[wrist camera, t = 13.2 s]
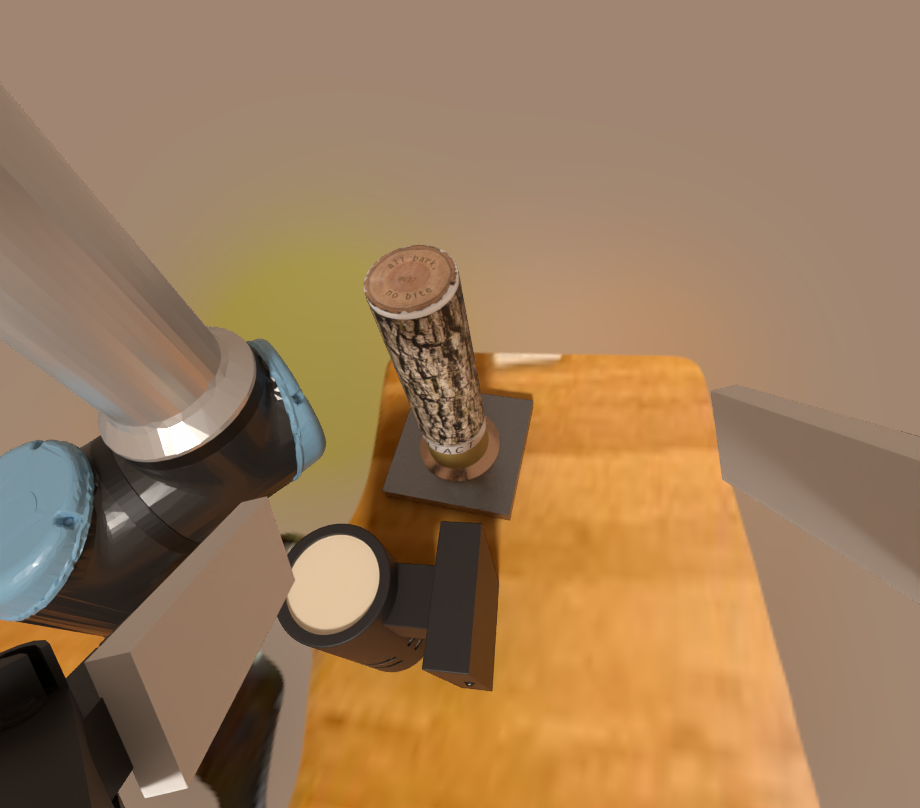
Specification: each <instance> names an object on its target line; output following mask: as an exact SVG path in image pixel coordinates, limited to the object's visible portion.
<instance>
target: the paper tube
mask: <svg viewBox="0 0 920 808" xmlns="http://www.w3.org/2000/svg"><path fill="white" fill-rule="evenodd" d="M364 292H365V295H366V299H367V302H368V304H369V306H370V309H371V311H372V314H373V316H374V319H375V321H376V323H377V326H378V328H379V330H380V333H381V335H382V338H383V340H384V343H385V345H386V348H387V350H388V353H389V355H390V357H391V360H392V362H393V365H394V367H395V370H396V372H397V374H398V377H399V379H400V382H401V384H402V387H403V389H404V391H405V394H406V396H407V399H408V401H409V404H410V406H411V409H412V411H413V413H414V416H415V418H416V421H417V423H418V426H419V428H420V430H421V433H422V435H423V438H424V440H425V442H426V444H427V447H428V449H429V452H430V454H431V456H432V457H433V458H434V460H435V461H436V462H438V463H439V464H440V465H442V466H444V467H447V468H451V469H462V468H466V467H469V466H471V465H473V464H475V463H476V462H478V461H479V460H480V459H481V458H482V457H483V455H484V454H485V452H486V450H487V447H488V442H489V436H488V430H487V425H486V418H485V413H484V407H483V402H482V396H481V391H480V385H479V380H478V375H477V369H476V364H475V358H474V353H473V347H472V342H471V336H470V331H469V326H468V320H467V315H466V309H465V304H464V298H463V294H462V287H461V282H460V277H459V272H458V268H457V265H456V263H455V261H454V259H453V258H452V257H451V256H450V255H449V254H448V253H446V252H445V251H443V250H441V249H439V248H436V247H431V246H426V245H414V246H407V247H403V248H399V249H396V250H394V251H392V252H390V253H388V254H386V255H384V256H383V257H381V258H380V259H379V260H378V261H376V262H375V263H374V264H373V266H372V267H371V268H370V269H369V271H368V273H367V275H366V277H365V280H364Z"/></svg>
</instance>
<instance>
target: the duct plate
mask: <svg viewBox="0 0 920 808" xmlns="http://www.w3.org/2000/svg"><path fill="white" fill-rule="evenodd" d="M481 396H482V402H483V407H484V413H485V418H486V425H487V430H488V436H489V442H488V447H487V450H486V452H485V454H484V455H483V457H482V458H481V459H480V460H479V461H478V462H476V463H475V464H473V465H471V466H469V467H466V468H462V469H451V468H447V467H444V466H442V465H440V464H439V463H438V462H436V461H435V460H434V458H433V457H432V456H431V454H430V452H429V449H428V447H427V444H426V442H425V440H424V438H423V435H422V433H421V430H420V428H419V426H418V423H417V421H416V418H415V416H414V413H413V411H412V409H411V408H410V411H409V414H408V417H407V420H406V423H405V426H404V429H403V432H402V434H401V437H400V440H399V443H398V446H397V449H396V452H395V455H394V458H393V461H392V463H391V466H390V469H389V472H388V475H387V478H386V481H385V484H384V487H383V490H382V491H383V493H384V494H385V496H388V497H394V498H399V499H404V500H409V501H414V502H419V503H424V504H429V505H434V506H439V507H444V508H449V509H455V510H460V511H465V512H470V513H475V514H480V515H485V516H490V517H495V518H500V519H505V520H510V518H511V513H512V509H513V504H514V499H515V494H516V489H517V484H518V479H519V474H520V469H521V465H522V460H523V455H524V450H525V445H526V440H527V435H528V430H529V425H530V420H531V416H532V411H533V401H532V400H525V399H517V398H510V397H503V396H496V395H488V394H481Z"/></svg>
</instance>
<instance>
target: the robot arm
mask: <svg viewBox="0 0 920 808" xmlns="http://www.w3.org/2000/svg"><path fill="white" fill-rule="evenodd" d="M0 340H1V341H2V342H4V343H5V344H6V345H8V346H9V347H10V348H12V349H13V350H15V351H16V352H17V353H19V354H20V355H22V356H23V357H24V358H26V359H27V360H29V361H30V362H31V363H33V364H34V365H36V366H37V367H39V368H40V369H41V370H42V371H44V372H45V373H47V374H48V375H50V376H51V377H52V378H54V379H55V380H56V381H58V382H59V383H61V384H62V385H63V386H65V387H66V388H68V389H69V390H70V391H72V392H73V393H75V394H76V395H77V396H79V397H80V398H82V399H83V400H84V401H86V402H87V403H88V404H90V405H91V406H93V407H94V408H96V409H97V410H98V411H99V412H98V427H99V431H100V436H99V437H97V438H96V439H94V440H93V441H91V442H89V443H88V444H86V445H84V446H83V447H81V448H79V447H77V446H76V445H74V444H72V443H68V442H66V441H57V440H46V441H41V440H36V441H32V442H28V443H25V444H22V445H21V446H18V447H16V448H14V449H11V450H10V451H8V452H6V453H5V454H3V455H2V456H0V619H1V620H8V621H16V622H22V623H28V624H34V625H40V626H45V627H51V628H57V629H63V630H68V631H74V632H80V633H86V634H91V635H98V636H103V637H104V638H105V639H104V640H103V641H102V642H101V643H100V644H99V645H100V646H99V647H98V648H95V649H94V651H93V652H92V653H91V654H90V655H89V656H88V657H87V658H86V659H85V660H84V661H83V662H82V663H81V664H80V665H79V666H78V667H77V668H76V669H75V670H74V671H73V672H72V673H71V674H70V675H69V676H68V677H67V678H65V676H64V674H63V672H62V670H61V667H60V665H59V663H58V661H57V659H56V657H55V654H54V652H53V650H52V648H51V646H50V644H49V643H48V642H47V641H46V640H39V641H32V642H28V643H25V644H21V645H18V646H16V647H13V648H11V649H8V650H6V651H4V652H1V653H0V808H125V807H124V805H123V802H122V800H121V798H120V796H119V794H118V791H119V789H120V788H121V786H122V785H123V783H124V782H125V780H126V779H127V777H128V776H129V774H130V773H131V771H133V773H134V775H135V777H136V780H137V782H138V784H139V786H140V789H141V791H142V793H143V795H144V797H145V798H148V797H152V796H156V795H161V794H165V793H169V792H173V791H178V790H182V789H186V788H188V787H189V785H190V783H191V781H192V779H193V777H194V775H195V773H196V771H197V769H198V767H199V766H200V764H201V762H202V760H203V758H204V756H205V754H206V752H207V750H208V748H209V746H210V744H211V742H212V740H213V738H214V737H215V735H216V733H217V731H218V729H219V727H220V725H221V723H222V721H223V719H224V717H225V715H226V713H227V711H228V709H229V707H230V706H231V704H232V702H233V700H234V698H235V696H236V694H237V692H238V690H239V688H240V686H241V684H242V682H243V680H244V678H245V677H246V675H247V673H248V671H249V669H250V667H251V665H252V663H253V661H254V659H255V657H256V655H257V653H258V651H259V649H260V647H261V645H262V644H263V642H264V640H265V638H266V636H267V634H268V632H269V630H270V628H271V626H272V624H273V622H274V620H275V619H276V617H277V615H278V613H279V611H280V609H281V607H282V605H283V603H284V601H285V599H286V597H287V595H288V593H289V591H290V589H291V588H292V586H293V584H294V582H295V578H294V575H293V572H292V569H291V566H290V563H289V560H288V557H287V554H286V551H285V548H284V545H283V542H282V539H281V536H280V533H279V530H278V527H277V524H276V521H275V518H274V515H273V512H272V509H271V506H270V503H269V500H268V498H269V497H270V496H272V495H273V494H274V493H276V492H277V491H279V490H280V489H282V488H283V487H284V486H286V485H287V484H289V483H290V482H292V481H295V480H296V479H298V478H299V477H300V475H301V473H302V472H303V471H304V470H306V469H307V468H308V467H310V466H311V465H312V464H313V463H315V462H316V461H317V460H318V459H319V458H320V457H321V456H322V455H323V453H324V451H325V447H326V440H325V436H324V432H323V429H322V427H321V425H320V422H319V420H318V418H317V416H316V414H315V412H314V410H313V409H312V407H311V405H310V403H309V402H308V400H307V399H306V397H305V396H304V395H303V394H302V390H301V389H300V387H299V385H298V383H297V381H296V379H295V378H294V376H293V374H292V373H291V371H290V370H289V368H288V367H287V365H286V364H285V362H284V361H283V360H282V358H281V357H280V355H279V354H278V353H277V352H276V350H275V349H274V348H273V346H271V344H270V343H268V342H267V341H266V340H264V339H256V340H254V341H247V342H245V340H244V339H242V338H241V337H240V336H238V335H237V334H235V333H234V332H232V331H229V330H226V329H223V328H218V327H206V326H205V325H204V324H203V322H202V321H201V320H200V319H199V318H198V317H197V315H196V314H195V313H194V312H193V310H192V309H191V308H190V307H189V306H188V305H187V304H186V302H185V301H184V300H183V299H182V297H181V296H180V295H179V294H178V293H177V291H176V290H175V289H174V288H173V287H172V285H171V284H170V283H169V282H168V281H167V280H166V278H165V277H164V276H163V275H162V274H161V272H160V271H159V270H158V269H157V268H156V266H155V265H154V264H153V263H152V262H151V260H150V259H149V258H148V257H147V256H146V255H145V253H144V252H143V251H142V250H141V249H140V247H139V246H138V245H137V244H136V243H135V241H134V240H133V239H132V238H131V237H130V235H129V234H128V233H127V232H126V231H125V229H124V228H123V227H122V226H121V225H120V223H119V222H118V221H117V220H116V219H115V218H114V216H113V215H112V214H111V213H110V212H109V210H108V209H107V208H106V207H105V206H104V204H103V203H102V202H101V201H100V200H99V198H98V197H97V196H96V195H95V194H94V193H93V191H92V190H91V189H90V188H89V187H88V185H87V184H86V183H85V182H84V181H83V180H82V178H81V177H80V176H79V175H78V174H77V172H76V171H75V170H74V169H73V168H72V166H71V165H70V164H69V163H68V162H67V160H66V159H65V158H64V157H63V156H62V154H61V153H60V152H59V151H58V150H57V149H56V147H55V146H54V145H53V144H52V143H51V141H50V140H49V139H48V138H47V137H46V135H45V134H44V133H43V132H42V131H41V129H40V128H39V127H38V126H37V125H36V123H35V122H34V121H33V120H32V119H31V117H30V116H29V115H28V114H27V113H26V111H25V110H24V109H23V108H22V107H21V106H20V104H19V103H18V102H17V101H16V100H15V98H14V97H13V96H12V95H11V94H10V93H9V91H8V90H7V89H6V88H5V87H4V85H3V84H2V83H1V82H0ZM711 398H712V406H713V413H714V421H715V428H716V436H717V443H718V451H719V458H720V465H721V473H722V480H724V481H726V482H727V483H729V484H730V485H732V486H734V487H735V488H737V489H738V490H740V491H741V492H743V493H745V494H746V495H748V496H749V497H751V498H752V499H754V500H756V501H757V502H759V503H760V504H762V505H764V506H765V507H767V508H768V509H770V510H772V511H773V512H775V513H776V514H778V515H779V516H781V517H783V518H784V519H786V520H787V521H789V522H791V523H792V524H794V525H795V526H797V527H798V528H800V529H801V530H803V531H805V532H806V533H808V534H809V535H811V536H813V537H814V538H816V539H817V540H819V541H820V542H822V543H823V544H825V545H827V546H828V547H830V548H831V549H833V550H835V551H836V552H838V553H839V554H841V555H843V556H844V557H846V558H847V559H849V560H850V561H852V562H853V563H855V564H857V565H858V566H860V567H862V568H863V569H865V570H866V571H868V572H869V573H871V574H872V575H874V576H876V577H877V578H879V579H880V580H882V581H884V582H885V583H887V584H888V585H890V586H891V587H893V588H895V589H896V590H898V591H899V592H901V593H903V594H904V595H906V596H907V597H909V598H910V599H912V600H913V601H915V602H917V603H918V604H920V436H917V435H913V434H910V433H906V432H903V431H898V430H894V429H891V428H887V427H884V426H880V425H877V424H873V423H870V422H866V421H863V420H859V419H856V418H852V417H848V416H845V415H841V414H838V413H834V412H831V411H827V410H824V409H820V408H817V407H813V406H810V405H806V404H803V403H799V402H795V401H792V400H789V399H785V398H782V397H778V396H775V395H771V394H768V393H764V392H760V391H757V390H754V389H750V388H746V387H743V386H739V385H733V386H729V387H725V388H721V389H716V390H712V391H711Z"/></svg>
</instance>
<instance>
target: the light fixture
mask: <svg viewBox="0 0 920 808" xmlns="http://www.w3.org/2000/svg"><path fill="white" fill-rule="evenodd" d="M287 557H288V560H289V563H290V566H291V569H292V572H293V575H294V578H295V582H294V584H293V586H292V588H291V589H290V591H289V593H288V595H287V597H286V599H285V601H284V603H283V605H282V607H281V609H280V611H279V613H278V615H277V617H278V619H279V621H280V623H281V625H282V627H283V628H284V629H285V631H286V632H287V633H288V634H289V635H290V636H291V637H292V638H294V639H295V640H296V641H298V642H300V643H301V644H304V645H306V646H309V647H312V648H315V649H318V650H321V651H324V652H327V653H330V654H333V655H336V656H339V657H342V658H345V659H348V660H351V661H354V662H357V663H360V664H363V665H366V666H369V667H372V668H375V669H378V670H381V671H385V672H398V671H402V670H405V669H407V668H410V667H411V666H413V665H415V664H416V663H417V662H418V661H420V660H421V659H422V658H423V665H422V670H424V671H426V672H428V673H431V674H433V675H435V676H437V677H439V678H441V679H444V680H446V681H448V682H450V683H452V684H454V685H457V686H459V687H461V688H468V689H477V690H486V691H492V688H493V673H494V657H495V641H496V625H497V609H498V593H499V581H498V578H497V575H496V571H495V568H494V564H493V561H492V557H491V554H490V550H489V547H488V543H487V540H486V536H485V533H484V530H483V526H482V523H465V522H448V521H441V524H440V532H439V540H438V548H437V555H436V563H435V566H433V565H420V564H406V563H398V562H397V561H396V559H395V558H394V557H393V556H392V555H391V554H390V553H389V551H388V550H387V549H386V548H385V547H384V546H383V545H382V543H381V542H380V541H379V540H378V539H377V538H376V537H375V536H374V535H373V534H372V533H370V532H369V531H367V530H365V529H363V528H361V527H359V526H355V525H351V524H333V525H328V526H325V527H322V528H319V529H317V530H315V531H313V532H311V533H310V534H308V535H307V536H305V537H304V538H303V539H301V540H300V541H299V542H298V543H297V544H296V545H295V546H294V547H293V548H292V549H291V551H290V552H289V553H288V555H287ZM423 656H424V657H423Z"/></svg>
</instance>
